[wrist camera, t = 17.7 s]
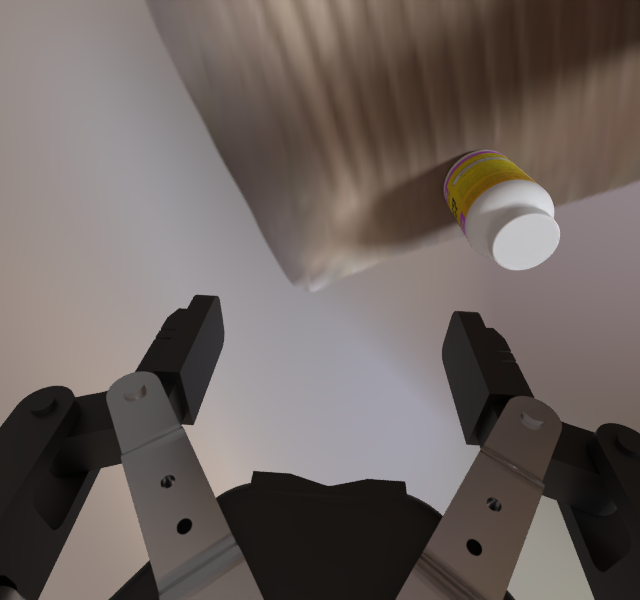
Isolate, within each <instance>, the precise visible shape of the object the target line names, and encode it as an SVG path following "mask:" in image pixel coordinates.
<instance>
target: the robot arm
mask: <svg viewBox="0 0 640 600" xmlns="http://www.w3.org/2000/svg"><path fill="white" fill-rule="evenodd" d="M223 343H224V325H223V318H222V312H221V305H220V299H219V297H218V296H209V295H195V296H194V297H193V299H192V301H191V303H190V305H189V306H188V308H187V309H181V308H179V309H178V310H176V311H175V312H174V313H173V314H171V315H170V316H169V317H168V318H167V319H166V321H165V322H164V324H163V326H162V328H161V331H159V333H158V334H157V336H156V339H155V340H154V341H153V343H152V344H151V346H150V348H149V349H148V351H147V353H146V354H145V356H144V358H143V359H142V361H141V363H140V365H139V366H138V368H137V370H136V371H135V372H134V373H131V374H128V375H125V376H123V377H122V378H120V379H118V380H117V381H116V382H114V383H113V384H112V386H111V387H110V389H109V390H108V391H105V392H101V393H96V394H90V395H85V396H80V397H75V396H74V394H73V392H72V391H71V390H70V389H69V388H67V387H63V386H51V387H46V388H43V389H40V390H38V391H35V392H33V393H32V394H30V395H28V396H27V397H26V398H24V399H23V400H22V401H21V402H20V403H19V404H18V405H17V406H16V408H15V409H14V410H13V411H12V413H11V414H10V415H9V417H8V418H7V419H6V421H5V422H4V423H3V424H2V426H1V427H0V600H38V598H39V596H40V594H41V592H42V590H43V588H44V586H45V584H46V582H47V580H48V577H49V576H50V573H51V571H52V569H53V567H54V565H55V563H56V561H57V559H58V557H59V554H60V553H61V550H62V548H63V546H64V544H65V542H66V540H67V538H68V536H69V534H70V532H71V529H72V527H73V525H74V523H75V521H76V519H77V517H78V515H79V512H80V511H81V509H82V506H83V504H84V502H85V500H86V498H87V496H88V494H89V492H90V490H91V487H92V486H93V484H94V481H95V479H96V477H97V475H98V473H99V471H100V469H101V468H104V467H108V466H113V465H117V464H121V463H122V465H123V468H124V472H125V475H126V479H127V482H128V485H129V489H130V492H131V496H132V500H133V503H134V507H135V510H136V514H137V517H138V520H139V524H140V528H141V531H142V534H143V538H144V541H145V545H146V548H147V552H148V556H149V559H150V560H149V561H148V562H147V563H146V564H145V565H144V566H143V567H142V568H141V569H140V570H139V571H138V572H137V573H136V574H135V575H134V576H133V577H132V578H131V579H130V580H129V581H128V582H126V583H125V584H124V585H123V586H122V587H121V588H120V589H119V590H118V591H117V592H116V593H115V594H114V595H113V596H112V597H111V598H110V599H109V600H515V599H514V598H513V596H512V595H511V594H510V593H509V592H508V591H507V587H508V585H509V582H510V579H511V577H512V574H513V571H514V569H515V566H516V563H517V561H518V558H519V555H520V552H521V550H522V547H523V544H524V541H525V539H526V536H527V534H528V530H529V528H530V525H531V523H532V520H533V517H534V515H535V512H536V509H537V507H538V504H539V501H540V499H541V496H542V495H544V496H546V497H549V498H551V499H554V500H557V502H558V505H559V508H560V510H561V512H562V515H563V518H564V520H565V523H566V526H567V529H568V531H569V534H570V536H571V539H572V541H573V544H574V547H575V549H576V552H577V555H578V557H579V560H580V562H581V565H582V568H583V570H584V573H585V576H586V578H587V581H588V583H589V586H590V588H591V591H592V594H593V596H594V599H595V600H640V434H639V433H638V432H636V431H635V430H633V429H631V428H628V427H626V426H623V425H620V424H614V423H608V424H603V425H601V426H600V427H599V428H598V429H597V431H596V432H595V433H594V432H591V431H588V430H585V429H582V428H579V427H576V426H573V425H569V424H567V423H564V422H562V421H561V420H560V418H559V416H558V415H557V413H556V412H555V411H554V410H553V409H552V408H551V407H550V406H548V405H547V404H545V403H544V402H542V401H540V400H537V399H535V398H534V396H533V394H532V392H531V390H530V388H529V386H528V384H527V382H526V380H525V378H524V376H523V374H522V372H521V370H520V368H519V366H518V364H517V363H516V360H515V358H514V356H513V354H512V353H511V350H510V348H509V346H508V344H507V342H506V341H505V339H504V338H503V337H502V336H501V335H500V334H499V333H498V332H497V331H496V330H495V329H494V328H486V327H485V325H484V322H483V320H482V318H481V316H480V314H479V313H478V312H464V311H455V312H454V313H453V314H452V317H451V320H450V323H449V327H448V330H447V333H446V337H445V340H444V343H443V347H442V360H443V364H444V368H445V371H446V374H447V378H448V382H449V385H450V389H451V392H452V396H453V399H454V403H455V406H456V410H457V413H458V416H459V420H460V423H461V427H462V430H463V434H464V437H465V441H466V444H468V445H480V448H481V450H480V451H479V453H478V455H477V457H476V458H475V460H474V462H473V464H472V466H471V467H470V469H469V471H468V473H467V475H466V476H465V479H464V480H463V482H462V483H461V485H460V487H459V489H458V490H457V493H456V494H455V496H454V498H453V500H452V501H451V503H450V505H449V507H448V508H447V510H446V512H445V514H444V515H443V516H442V515H441V514H440V513H439V512H438V511H436V510H435V509H434V508H432V507H431V506H430V505H428V504H427V503H425V502H423V501H421V500H420V499H418V498H415V497H413V496H411V495H408V494H407V492H406V484H405V482H403V481H389V480H374V479H365V480H360V481H355V482H350V483H345V484H339V485H334V486H326V485H323V484H320V483H317V482H314V481H311V480H307V479H305V478H302V477H299V476H296V475H293V474H288V473H274V472H259V471H253V476H252V480H251V483H248V484H244V485H241V486H237V487H235V488H233V489H230V490H228V491H226V492H224V493H223V494H221V495H220V496H218V497H217V498H215V496H214V493H213V491H212V489H211V487H210V485H209V482H208V480H207V478H206V476H205V474H204V471H203V469H202V467H201V465H200V463H199V460H198V458H197V456H196V454H195V452H194V450H193V447H192V445H191V443H190V441H189V439H188V436H187V434H186V432H185V430H184V428H183V427H182V426H181V425H182V424H185V425H194V422H195V420H196V417H197V414H198V412H199V409H200V406H201V403H202V401H203V398H204V396H205V393H206V390H207V388H208V385H209V382H210V380H211V377H212V374H213V372H214V369H215V366H216V363H217V361H218V358H219V355H220V353H221V350H222V347H223Z"/></svg>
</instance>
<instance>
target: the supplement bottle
mask: <svg viewBox="0 0 640 600" xmlns="http://www.w3.org/2000/svg"><path fill="white" fill-rule="evenodd" d="M444 197H445V200H446V202H447V204H448V206H449V208H450V210H451V211H452V213H453V215H454V217H455V219H456V220H457V222H458V224H459V226H460V227H461V229H462V231H463V233H464V234H465V236H466V238H467V239H468V242H469V243H470V245H471V246H472V247H473V248H474V249H475V250H476V251H477V252H478V253H479V254H481V255H483V256H485V257H488V258H492V259H494V260H495V261H496V262H497V263H498V264H499V265H500V266H502V267H504V268H506V269H510V270H525V269H529V268H532V267H535V266H537V265H538V264H541V263H542V262H543V261H545V260H546V259H547V258H549V256H550V255H551V254H552V253H553V252H554V250H555V249H556V247H557V245H558V243H559V239H560V229H559V226H558V224H557V223H556V222H555V220H554V206H553V202H552V200H551V198H550V196H549V194H548V193H547V192H546V191H545V190H544V189H543V188H542V187H541V186H539V185H538V184H537V183H536V182H535V181H534V180H532V179H531V178H530V177H529V176H528V175H527V174H525V173H524V172H523V171H522V170H521V169H520V168H519V167H517V166H516V165H515V164H514V163H513V162H512V161H511V160H509V159H508V158H507V157H506V156H504V155H503V154H501V153H499V152H497V151H494V150H478V151H474V152H472V153H469V154H467V155H465V156H464V157H462V158H461V159H460V160H458V161H457V162H456V163H455V164H454V165H453V167H452V168H451V169H450V171H449V172H448V174H447V176H446V179H445V183H444Z"/></svg>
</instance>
